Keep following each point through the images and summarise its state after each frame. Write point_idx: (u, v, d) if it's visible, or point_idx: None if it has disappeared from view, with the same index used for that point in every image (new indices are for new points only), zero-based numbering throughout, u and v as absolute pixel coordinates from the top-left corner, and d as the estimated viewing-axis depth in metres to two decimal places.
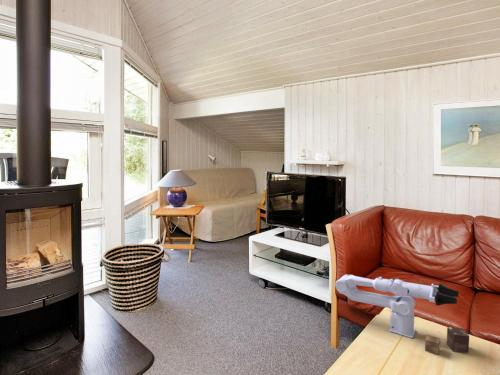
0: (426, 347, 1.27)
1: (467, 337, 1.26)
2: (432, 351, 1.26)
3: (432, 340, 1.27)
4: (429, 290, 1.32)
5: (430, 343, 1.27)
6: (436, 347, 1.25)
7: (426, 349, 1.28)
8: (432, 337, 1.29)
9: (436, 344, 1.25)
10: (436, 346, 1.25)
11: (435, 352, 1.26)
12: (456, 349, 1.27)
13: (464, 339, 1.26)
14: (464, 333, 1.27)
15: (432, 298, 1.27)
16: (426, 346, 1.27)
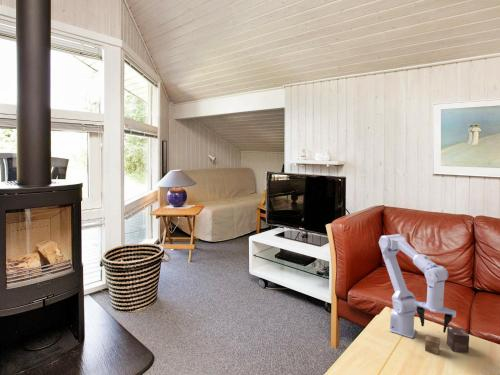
0: (426, 347, 1.27)
1: (467, 337, 1.26)
2: (432, 351, 1.26)
3: (432, 340, 1.27)
4: (427, 305, 1.26)
5: (430, 343, 1.26)
6: (436, 347, 1.25)
7: (426, 349, 1.28)
8: (432, 337, 1.29)
9: (436, 344, 1.25)
10: (436, 346, 1.25)
11: (435, 352, 1.26)
12: (456, 349, 1.27)
13: (464, 339, 1.26)
14: (464, 333, 1.27)
15: (414, 305, 1.30)
16: (426, 346, 1.27)
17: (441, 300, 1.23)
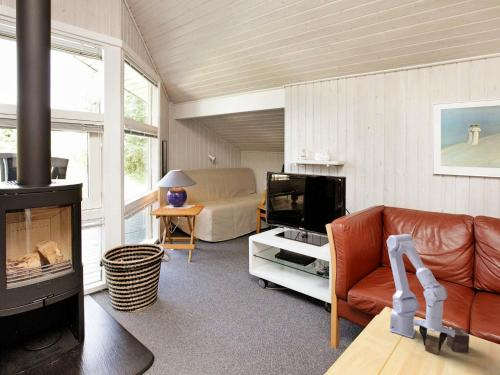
0: (426, 347, 1.27)
1: (467, 337, 1.26)
2: (432, 351, 1.26)
3: (432, 340, 1.27)
4: (426, 324, 1.27)
5: (430, 343, 1.26)
6: (436, 347, 1.25)
7: (426, 349, 1.27)
8: (432, 337, 1.29)
9: (436, 344, 1.25)
10: (436, 346, 1.25)
11: (435, 352, 1.26)
12: (456, 349, 1.27)
13: (464, 340, 1.26)
14: (464, 333, 1.27)
15: (413, 323, 1.31)
16: (426, 346, 1.27)
17: (440, 319, 1.24)
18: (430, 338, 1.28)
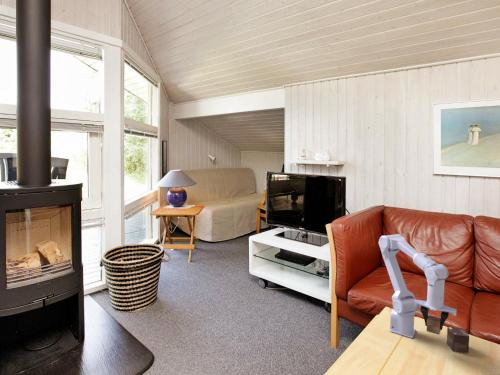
0: (427, 327, 1.26)
1: (467, 337, 1.26)
2: (433, 331, 1.25)
3: (434, 320, 1.26)
4: (428, 303, 1.26)
5: (431, 323, 1.25)
6: (438, 326, 1.24)
7: (427, 329, 1.26)
8: (433, 317, 1.28)
9: (437, 324, 1.24)
10: (438, 326, 1.24)
11: (437, 332, 1.25)
12: (456, 349, 1.27)
13: (464, 339, 1.26)
14: (464, 333, 1.27)
15: None
16: (427, 326, 1.26)
17: (441, 298, 1.23)
18: (431, 318, 1.27)
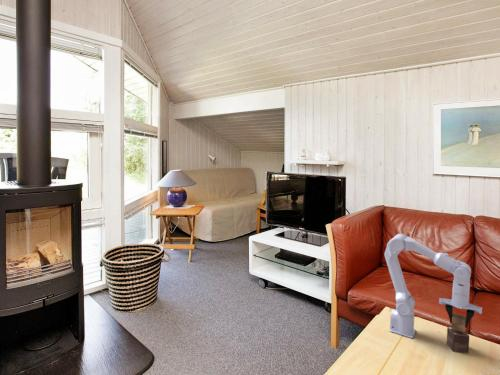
0: (452, 325, 1.28)
1: (467, 337, 1.26)
2: (459, 329, 1.27)
3: (459, 318, 1.27)
4: (453, 302, 1.28)
5: (456, 321, 1.27)
6: (463, 324, 1.26)
7: (452, 327, 1.28)
8: (458, 315, 1.29)
9: (463, 321, 1.26)
10: (463, 323, 1.26)
11: (462, 329, 1.26)
12: (456, 349, 1.27)
13: (464, 339, 1.26)
14: (464, 333, 1.27)
15: (439, 301, 1.32)
16: (452, 324, 1.28)
17: (467, 297, 1.25)
18: (456, 316, 1.28)
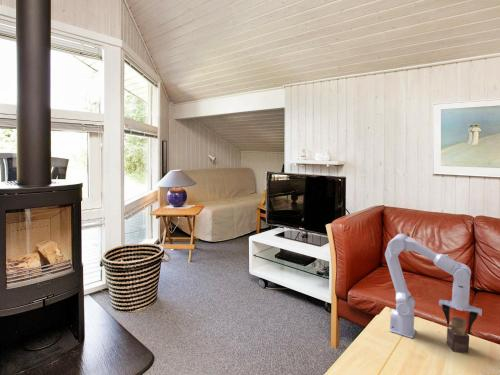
0: (452, 328, 1.28)
1: (467, 337, 1.26)
2: (458, 332, 1.27)
3: (459, 321, 1.27)
4: (453, 303, 1.28)
5: (456, 324, 1.27)
6: (463, 327, 1.26)
7: (452, 330, 1.28)
8: (458, 318, 1.29)
9: (463, 325, 1.26)
10: (463, 327, 1.26)
11: (461, 333, 1.26)
12: (456, 349, 1.27)
13: (464, 340, 1.26)
14: None
15: (439, 303, 1.32)
16: (452, 327, 1.28)
17: (467, 298, 1.25)
18: (456, 319, 1.29)
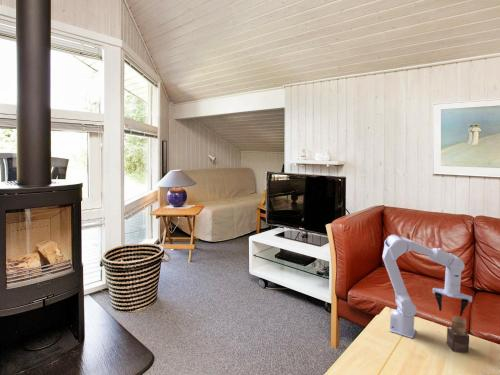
0: (452, 328, 1.28)
1: (467, 337, 1.26)
2: (458, 332, 1.27)
3: (459, 321, 1.27)
4: (445, 291, 1.37)
5: (456, 324, 1.27)
6: (463, 327, 1.26)
7: (452, 330, 1.28)
8: (458, 318, 1.29)
9: (463, 325, 1.26)
10: (463, 327, 1.26)
11: (462, 333, 1.26)
12: (456, 349, 1.27)
13: (464, 339, 1.26)
14: None
15: None
16: (452, 327, 1.28)
17: (458, 286, 1.34)
18: (456, 319, 1.29)
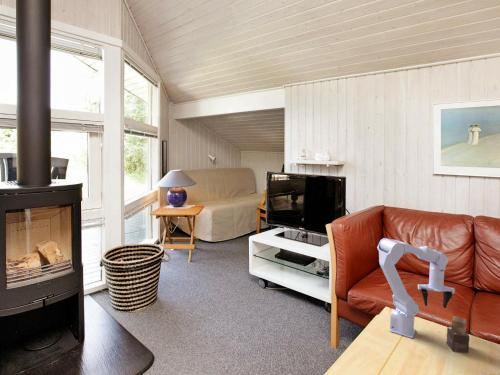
0: (452, 328, 1.28)
1: (467, 337, 1.26)
2: (458, 331, 1.27)
3: (459, 321, 1.27)
4: (431, 286, 1.42)
5: (456, 324, 1.27)
6: (463, 327, 1.26)
7: (452, 330, 1.28)
8: (458, 318, 1.30)
9: (463, 324, 1.26)
10: (463, 326, 1.26)
11: (462, 332, 1.26)
12: (456, 349, 1.27)
13: (464, 339, 1.26)
14: None
15: (418, 287, 1.45)
16: (452, 327, 1.28)
17: (443, 280, 1.41)
18: (456, 319, 1.29)
